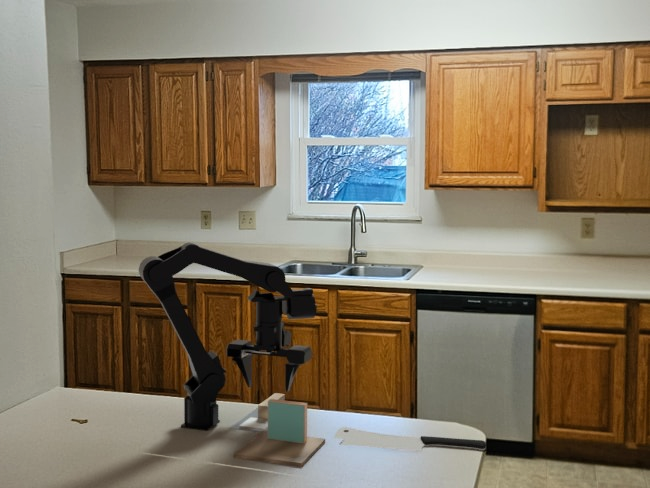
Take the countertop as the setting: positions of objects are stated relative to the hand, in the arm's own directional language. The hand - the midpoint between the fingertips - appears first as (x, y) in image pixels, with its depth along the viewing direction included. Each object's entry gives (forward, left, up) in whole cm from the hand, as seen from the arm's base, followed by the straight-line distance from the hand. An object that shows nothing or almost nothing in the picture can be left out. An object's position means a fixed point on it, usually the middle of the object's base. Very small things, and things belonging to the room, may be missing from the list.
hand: (268, 389), depth 175 cm
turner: (0, -1, -6) cm, 7 cm away
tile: (+10, -14, -2) cm, 18 cm away
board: (+10, -18, -7) cm, 22 cm away
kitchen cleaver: (+33, -6, -7) cm, 35 cm away
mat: (0, -1, -7) cm, 7 cm away
